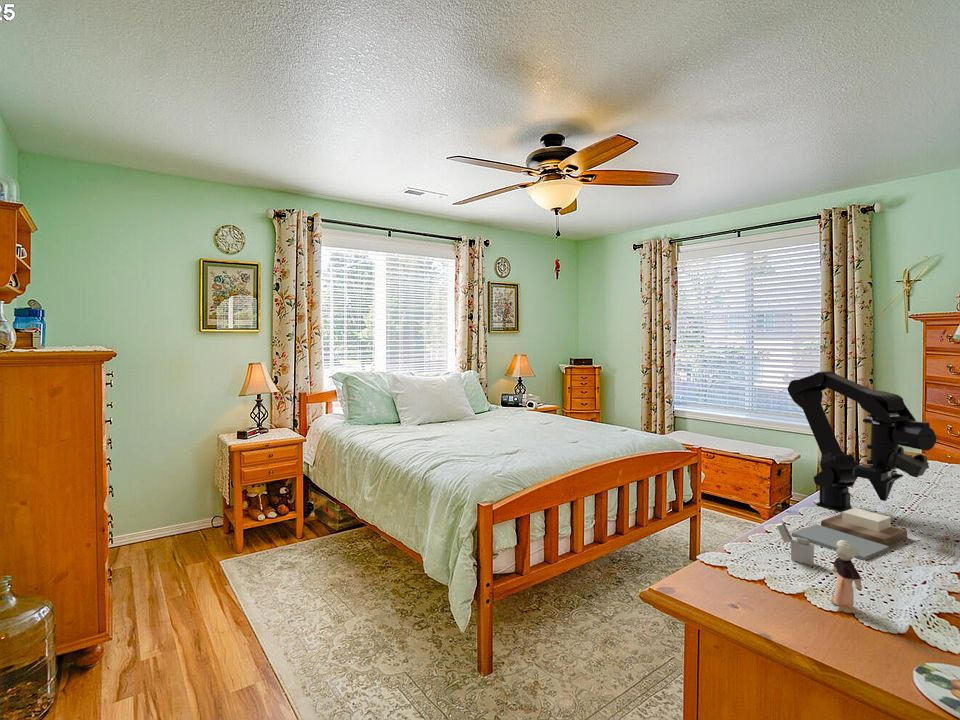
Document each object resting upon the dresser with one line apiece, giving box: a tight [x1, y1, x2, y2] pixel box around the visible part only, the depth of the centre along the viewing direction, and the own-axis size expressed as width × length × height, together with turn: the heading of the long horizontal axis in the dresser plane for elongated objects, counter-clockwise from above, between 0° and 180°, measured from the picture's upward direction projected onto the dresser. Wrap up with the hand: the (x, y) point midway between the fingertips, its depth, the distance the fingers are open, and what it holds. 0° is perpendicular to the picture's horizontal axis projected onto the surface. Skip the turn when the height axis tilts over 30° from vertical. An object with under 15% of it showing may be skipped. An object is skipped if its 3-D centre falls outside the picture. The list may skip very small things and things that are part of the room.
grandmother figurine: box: [830, 540, 863, 614], centre depth 92 cm, size 8×4×13 cm, turn 5°
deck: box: [820, 513, 908, 547], centre depth 125 cm, size 14×11×2 cm
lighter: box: [775, 521, 815, 566], centre depth 111 cm, size 7×2×8 cm, turn 48°
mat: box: [791, 523, 890, 561], centre depth 120 cm, size 16×11×1 cm
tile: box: [841, 507, 892, 532], centre depth 126 cm, size 8×6×2 cm
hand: (883, 500), depth 130 cm, fingers closed
